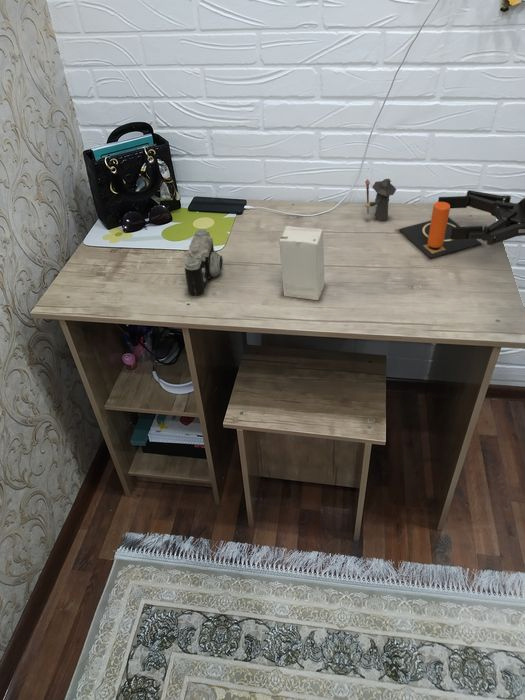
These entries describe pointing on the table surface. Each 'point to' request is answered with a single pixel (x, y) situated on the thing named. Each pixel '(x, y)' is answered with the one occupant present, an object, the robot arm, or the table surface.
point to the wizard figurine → (380, 197)
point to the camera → (201, 263)
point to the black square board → (420, 238)
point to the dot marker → (438, 225)
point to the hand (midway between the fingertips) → (444, 217)
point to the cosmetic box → (302, 262)
